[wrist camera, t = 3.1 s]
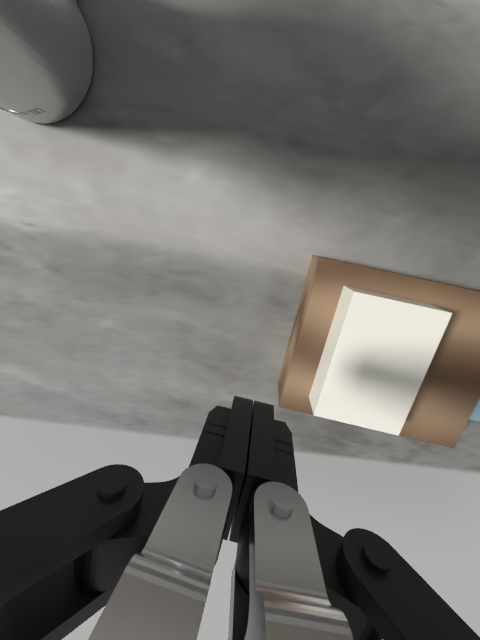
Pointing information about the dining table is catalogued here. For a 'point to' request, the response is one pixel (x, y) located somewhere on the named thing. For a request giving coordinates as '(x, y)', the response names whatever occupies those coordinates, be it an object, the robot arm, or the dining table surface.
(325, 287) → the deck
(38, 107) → the robot arm
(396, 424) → the white bevelled block
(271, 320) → the dining table surface
